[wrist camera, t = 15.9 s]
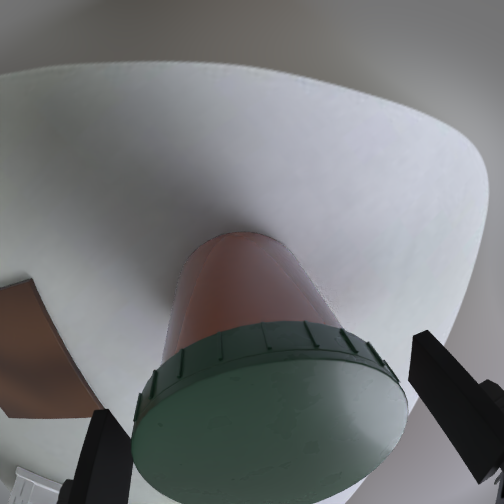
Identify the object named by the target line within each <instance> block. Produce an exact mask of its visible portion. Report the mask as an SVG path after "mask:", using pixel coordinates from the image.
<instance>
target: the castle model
mask: <svg viewBox="0 0 504 504" xmlns="http://www.w3.org/2000/svg"><path fill="white" fill-rule="evenodd" d="M15 473H16V475H17V478H16V481H15V484H14V486H13V489H12V492H11V495H10V498H9V501H8V504H56V503H57V501H58V495H59V491H60V488H61V487H62V484H60V483H57V482H54V481H52V480H49V479H47V478H44V477H42V476H39V475H37V474H35V473H32V472H30V471H28V470H26V469H23V468H21V467H19V466H18V467H17V469H16V472H15Z"/></svg>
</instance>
